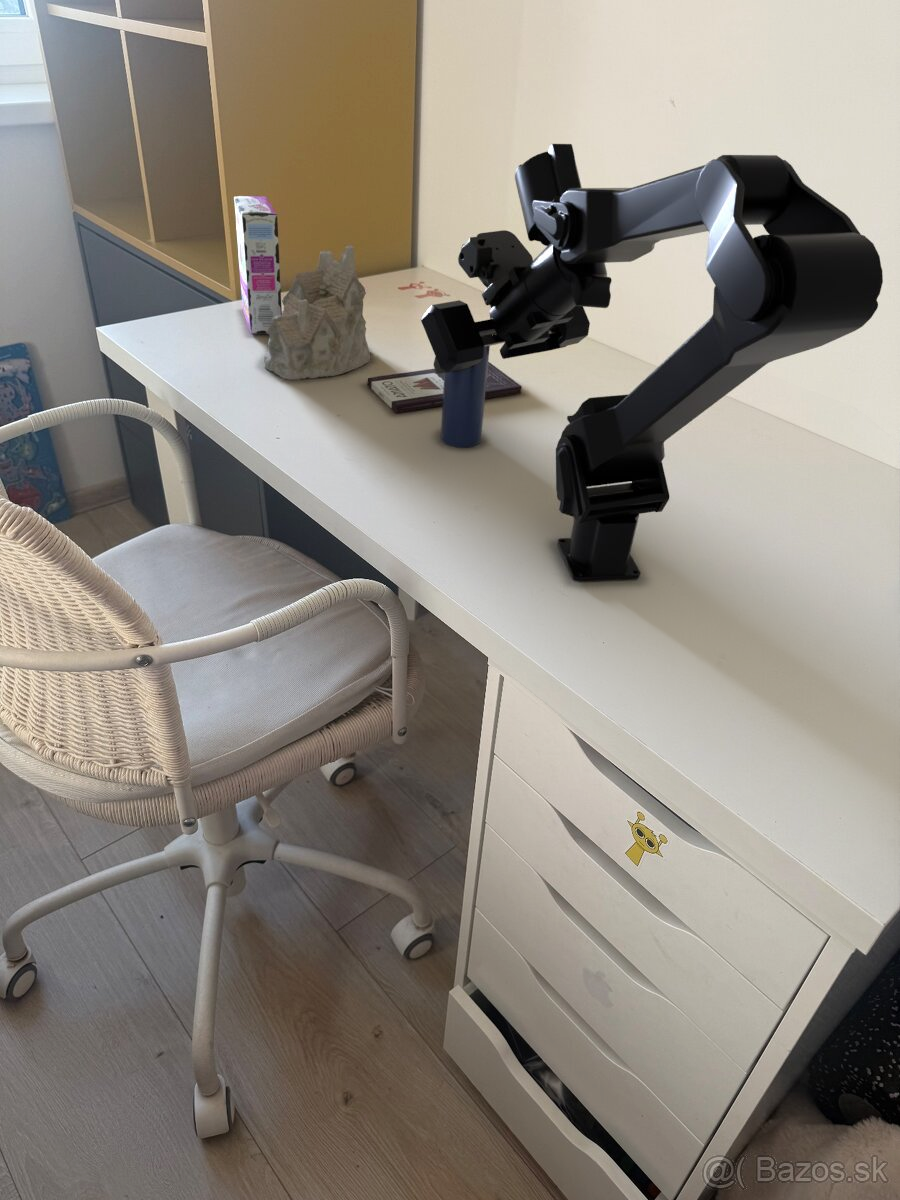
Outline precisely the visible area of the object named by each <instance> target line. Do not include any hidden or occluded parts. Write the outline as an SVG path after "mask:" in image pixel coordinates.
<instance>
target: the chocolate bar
mask: <svg viewBox="0 0 900 1200" xmlns="http://www.w3.org/2000/svg"><path fill="white" fill-rule="evenodd" d="M367 386H368V387H369V388H370V389H371V390H372V391H373V392H374V393H375V394H376V395H377V396H378V397H379V398H380V399H381V400H382V401H383V402H384V403H385V404H386V405H387V406H388V407H389V408H390V409H391V410H392V411H393V412H394V413H395V414H399V413H405V412H409V411H418V410H423V409H429V408H436V407H442V404H443V388H444V373H440V374H437V373H436V371H435V368H430V369H421V370H414V371H407V372H406V371H405V372H400V373H393V374H386V375H379V376H378V375H377V376H371V377H367ZM518 394H522V384H520V383H518V382H517V381H515V380H514V379H513V378H512V377H510V376H509V375H507V374H506V373H505V372H503V371H502V370H501V369H499V368H498V367H497V366H495V365H494V364H493V363H492V362H490V361H488V371H487V382H486V393H485V400H487V399H493V398H499V397H505V396H512V395H518Z"/></svg>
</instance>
